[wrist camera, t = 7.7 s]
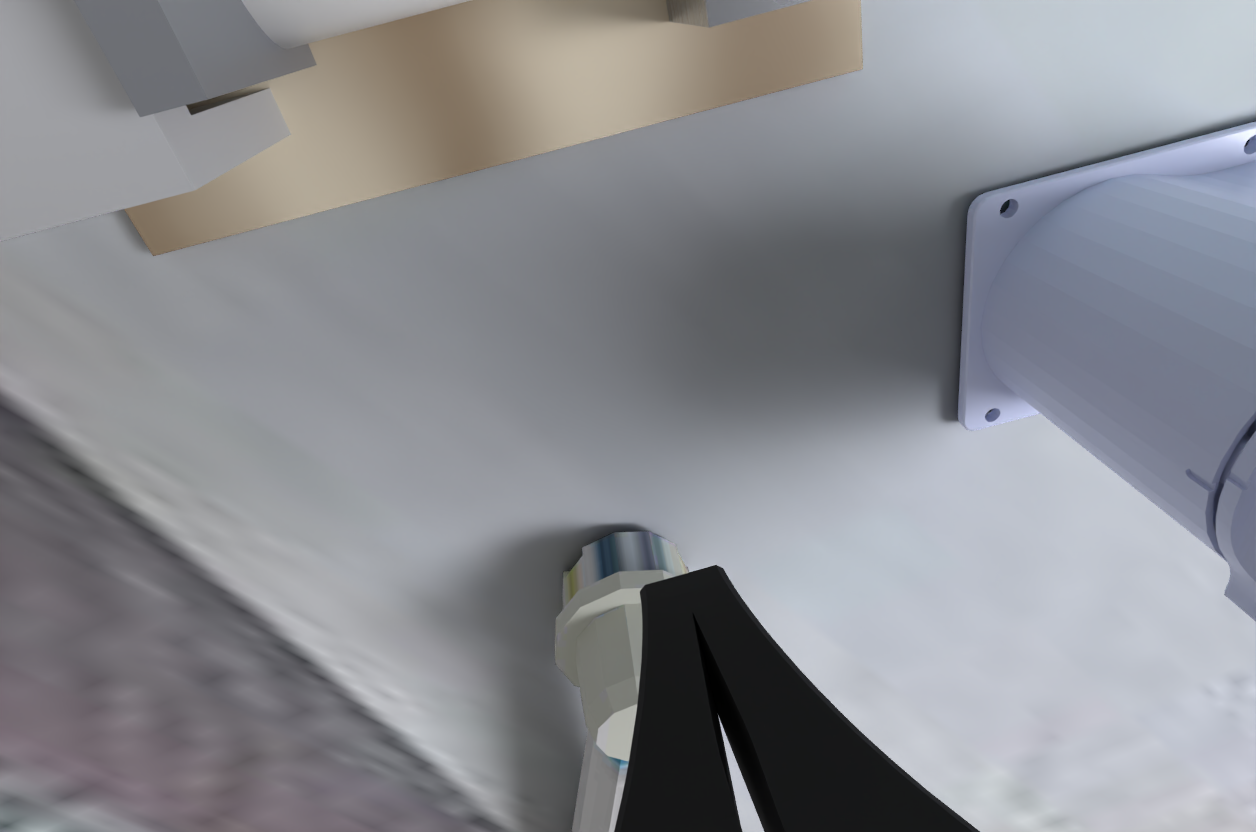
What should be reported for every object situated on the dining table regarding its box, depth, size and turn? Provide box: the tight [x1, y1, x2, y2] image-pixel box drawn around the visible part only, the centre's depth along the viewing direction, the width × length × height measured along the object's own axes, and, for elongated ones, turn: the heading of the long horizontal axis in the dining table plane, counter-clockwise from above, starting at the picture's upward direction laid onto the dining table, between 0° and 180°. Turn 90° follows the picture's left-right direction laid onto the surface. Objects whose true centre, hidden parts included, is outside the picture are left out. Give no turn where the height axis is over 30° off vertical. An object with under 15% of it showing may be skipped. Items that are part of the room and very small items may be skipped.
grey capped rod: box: [555, 531, 689, 832], centre depth 28 cm, size 5×7×25 cm
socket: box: [0, 0, 291, 242], centre depth 12 cm, size 4×6×6 cm
